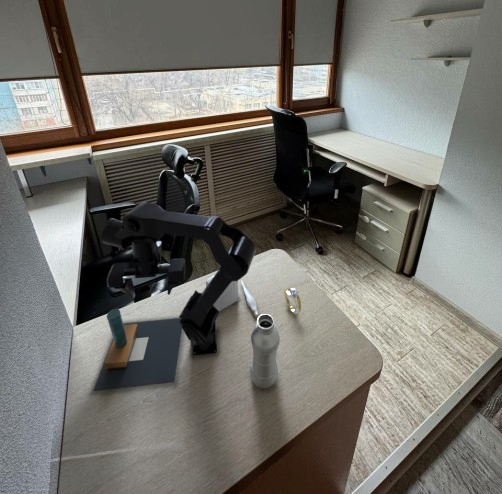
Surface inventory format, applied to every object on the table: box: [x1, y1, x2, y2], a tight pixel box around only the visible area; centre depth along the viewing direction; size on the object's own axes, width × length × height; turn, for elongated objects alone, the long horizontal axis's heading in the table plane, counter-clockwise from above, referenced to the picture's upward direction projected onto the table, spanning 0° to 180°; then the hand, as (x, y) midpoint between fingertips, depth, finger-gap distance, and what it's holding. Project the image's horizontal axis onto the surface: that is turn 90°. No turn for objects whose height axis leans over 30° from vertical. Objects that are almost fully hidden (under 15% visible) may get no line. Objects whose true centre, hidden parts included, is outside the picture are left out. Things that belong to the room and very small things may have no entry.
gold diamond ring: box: [283, 287, 302, 315], centre depth 82 cm, size 7×3×8 cm, turn 24°
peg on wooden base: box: [103, 308, 138, 371], centre depth 70 cm, size 5×10×14 cm, turn 5°
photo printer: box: [205, 274, 239, 312], centre depth 84 cm, size 10×4×12 cm, turn 123°
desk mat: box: [92, 317, 183, 392], centre depth 72 cm, size 19×17×1 cm
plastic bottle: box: [250, 313, 281, 389], centre depth 63 cm, size 6×7×20 cm
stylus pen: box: [239, 279, 260, 318], centre depth 87 cm, size 15×3×2 cm, turn 22°
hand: (151, 295), depth 73 cm, fingers open, 9 cm apart
